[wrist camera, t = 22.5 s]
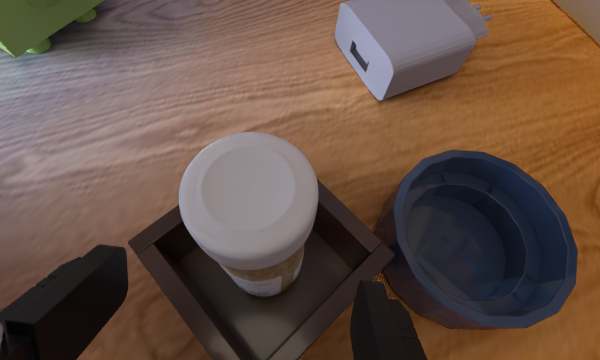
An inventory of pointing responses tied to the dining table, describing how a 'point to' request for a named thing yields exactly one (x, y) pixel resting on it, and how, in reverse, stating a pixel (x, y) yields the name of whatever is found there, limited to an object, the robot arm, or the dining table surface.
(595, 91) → the dining table surface
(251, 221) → the sprinkles bottle
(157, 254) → the box
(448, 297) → the bowl
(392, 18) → the charger
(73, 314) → the robot arm
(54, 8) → the kettle
